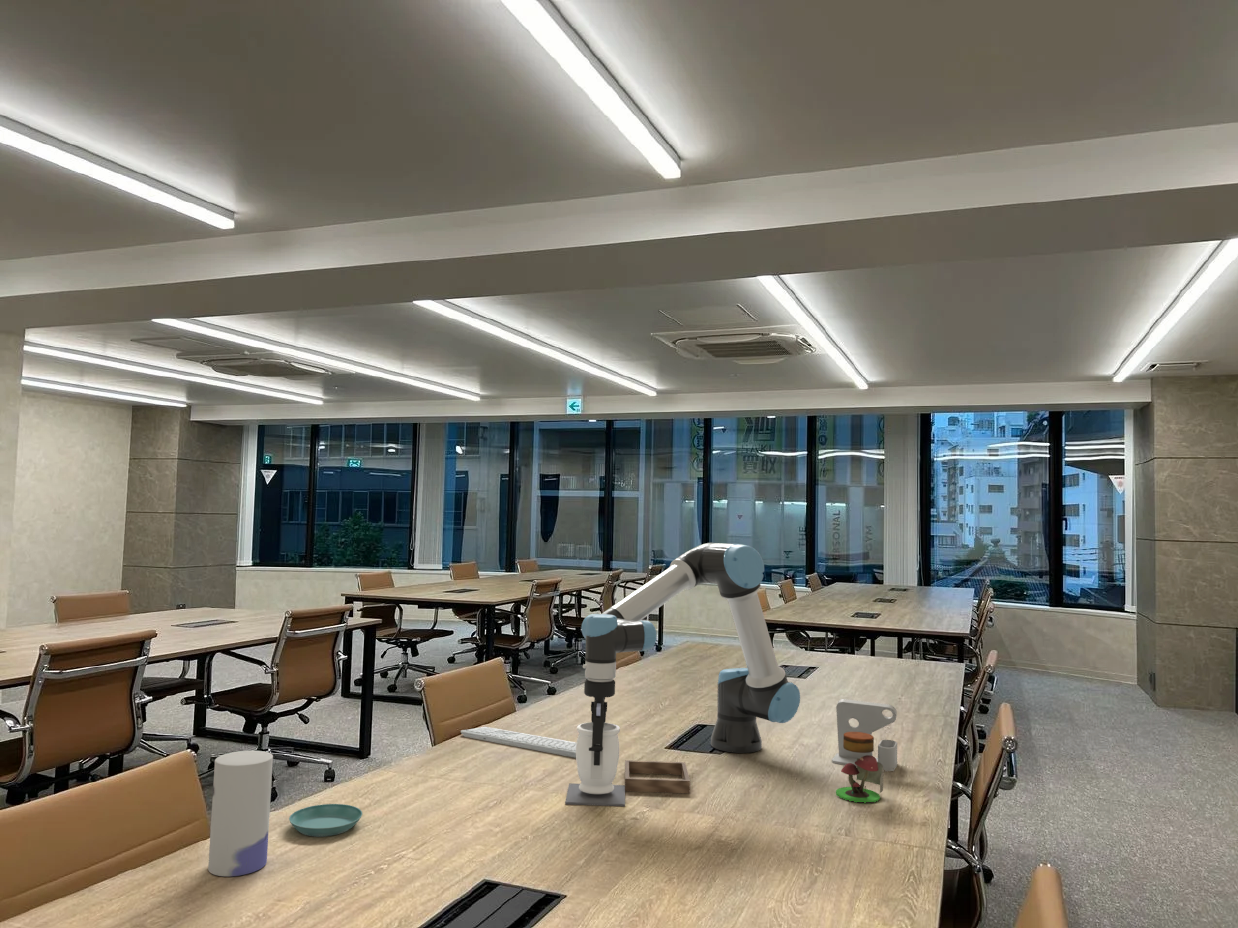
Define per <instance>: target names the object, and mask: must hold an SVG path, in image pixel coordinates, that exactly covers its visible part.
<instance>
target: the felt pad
mask: <svg viewBox="0 0 1238 928" xmlns="http://www.w3.org/2000/svg"><path fill="white" fill-rule="evenodd" d="M580 784H581V783H568V787H567V793H566V796H565V801H564V802H565V803H564V805H576V806H581V805H582V806H599V807H600V806H602V807H603V806H604V807H626V794H625V793H626V791H625V784H624V785H623V784H613V786H614V790H613V791H612V792H610V793H606V794H589V793H585V792H583V791H581V790H580V789H579V785H580Z"/></svg>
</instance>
